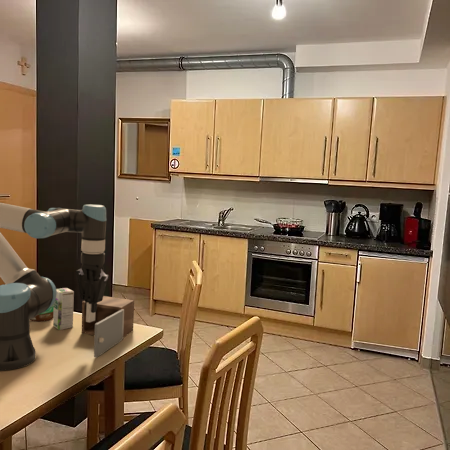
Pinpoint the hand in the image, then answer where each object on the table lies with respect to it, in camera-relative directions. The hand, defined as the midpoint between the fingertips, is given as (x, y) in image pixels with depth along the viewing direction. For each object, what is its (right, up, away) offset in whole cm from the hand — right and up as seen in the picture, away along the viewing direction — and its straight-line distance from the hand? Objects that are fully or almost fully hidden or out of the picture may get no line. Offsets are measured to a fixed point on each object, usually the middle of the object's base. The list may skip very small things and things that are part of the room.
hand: (90, 320), depth 151 cm
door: (+6, -10, +3) cm, 12 cm away
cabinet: (+1, -8, +19) cm, 21 cm away
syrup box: (-17, -7, +22) cm, 29 cm away
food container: (-27, -6, +29) cm, 39 cm away
